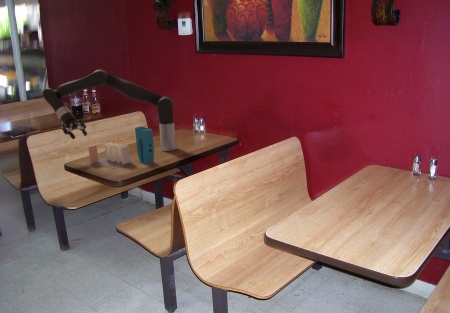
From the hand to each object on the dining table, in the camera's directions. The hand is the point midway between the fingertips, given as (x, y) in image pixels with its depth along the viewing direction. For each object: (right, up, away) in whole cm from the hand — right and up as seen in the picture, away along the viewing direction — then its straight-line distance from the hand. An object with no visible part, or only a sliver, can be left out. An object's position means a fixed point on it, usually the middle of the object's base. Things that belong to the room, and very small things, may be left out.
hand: (80, 136), depth 271 cm
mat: (+18, -15, -2) cm, 24 cm away
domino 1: (+17, -13, +2) cm, 22 cm away
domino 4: (+28, -15, -5) cm, 32 cm away
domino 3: (+24, -15, -3) cm, 29 cm away
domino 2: (+21, -14, 0) cm, 25 cm away
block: (+39, -15, -3) cm, 42 cm away
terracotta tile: (+9, -15, -1) cm, 17 cm away
